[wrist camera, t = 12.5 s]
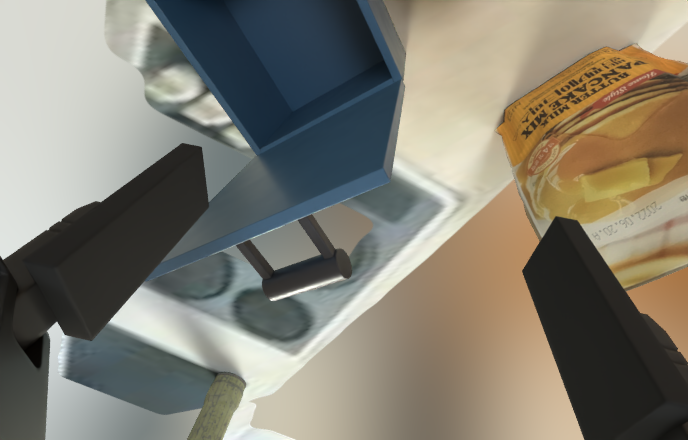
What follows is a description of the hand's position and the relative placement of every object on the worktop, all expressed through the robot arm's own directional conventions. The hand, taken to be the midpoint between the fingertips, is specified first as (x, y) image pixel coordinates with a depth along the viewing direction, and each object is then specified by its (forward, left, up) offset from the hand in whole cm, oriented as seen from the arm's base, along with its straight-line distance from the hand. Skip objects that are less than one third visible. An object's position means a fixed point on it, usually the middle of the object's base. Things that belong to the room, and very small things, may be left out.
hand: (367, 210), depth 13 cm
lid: (0, -8, -13) cm, 15 cm away
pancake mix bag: (+15, +15, -37) cm, 42 cm away
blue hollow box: (-8, -8, -36) cm, 38 cm away
